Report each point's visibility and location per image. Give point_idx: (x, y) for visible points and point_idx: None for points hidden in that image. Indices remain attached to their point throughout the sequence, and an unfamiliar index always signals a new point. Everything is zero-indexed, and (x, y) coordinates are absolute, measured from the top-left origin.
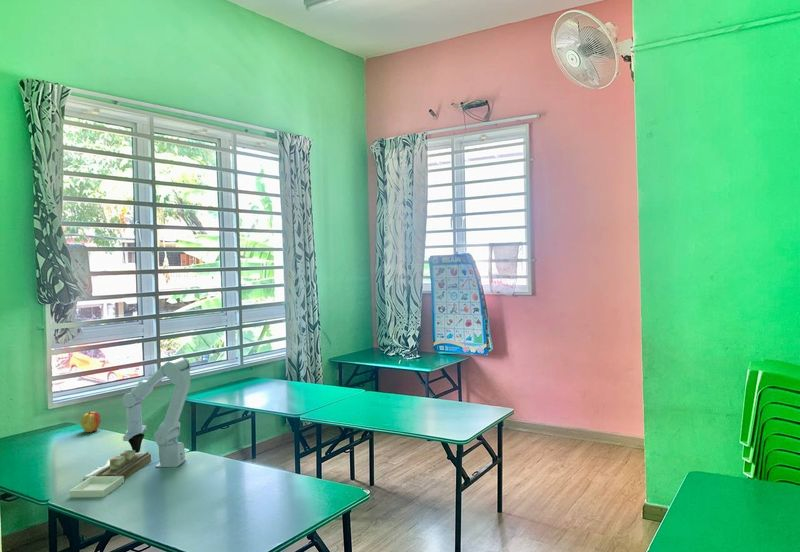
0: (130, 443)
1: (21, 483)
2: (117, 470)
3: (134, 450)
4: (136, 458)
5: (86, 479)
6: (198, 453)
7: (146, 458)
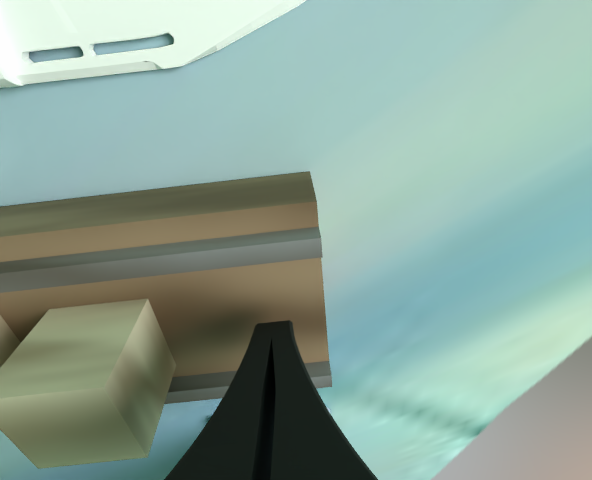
0: (204, 438)
1: None
2: None
3: (139, 456)
4: (206, 352)
5: None
6: (429, 474)
7: None
